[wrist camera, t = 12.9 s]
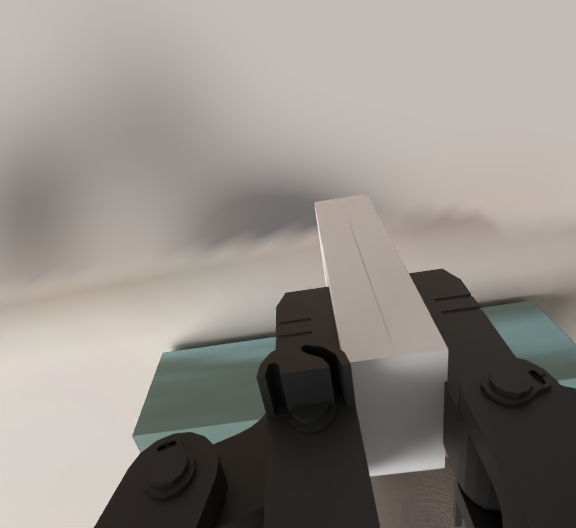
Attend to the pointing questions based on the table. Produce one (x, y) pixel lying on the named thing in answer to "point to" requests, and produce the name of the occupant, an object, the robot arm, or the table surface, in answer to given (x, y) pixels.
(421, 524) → the pillar candle
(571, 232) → the table surface
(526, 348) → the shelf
